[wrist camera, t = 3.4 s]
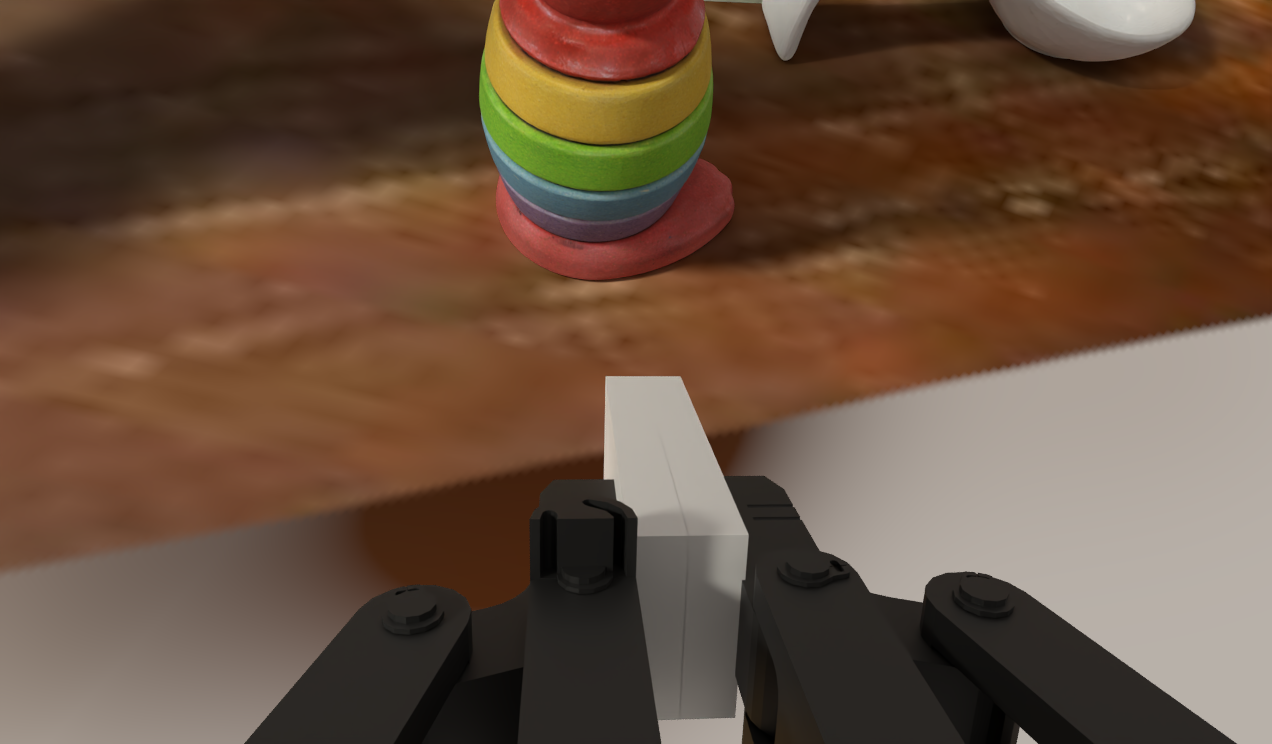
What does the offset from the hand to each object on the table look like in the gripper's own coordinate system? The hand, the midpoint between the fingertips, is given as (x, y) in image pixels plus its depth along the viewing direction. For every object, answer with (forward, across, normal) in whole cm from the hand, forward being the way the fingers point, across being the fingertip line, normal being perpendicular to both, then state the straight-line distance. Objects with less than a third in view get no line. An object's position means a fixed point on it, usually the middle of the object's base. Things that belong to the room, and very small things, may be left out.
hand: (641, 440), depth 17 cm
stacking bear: (+25, 0, +2) cm, 25 cm away
